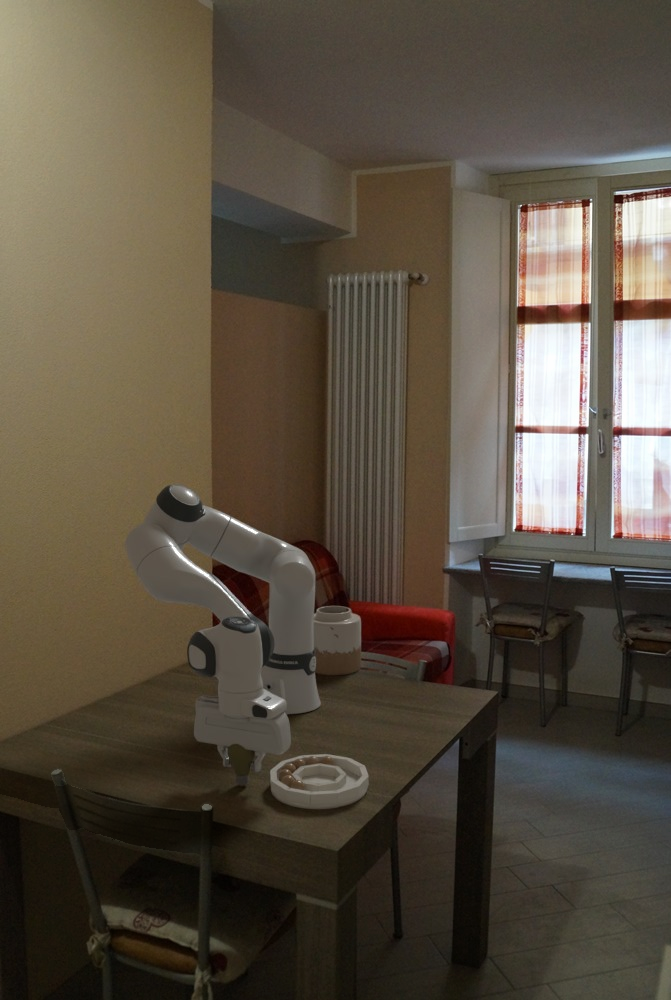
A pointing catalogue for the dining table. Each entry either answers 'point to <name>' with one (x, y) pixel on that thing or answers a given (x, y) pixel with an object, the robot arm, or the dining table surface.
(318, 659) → the vase
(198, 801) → the dining table surface
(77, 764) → the dining table surface
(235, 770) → the light bulb
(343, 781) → the bead tray
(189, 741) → the dining table surface
